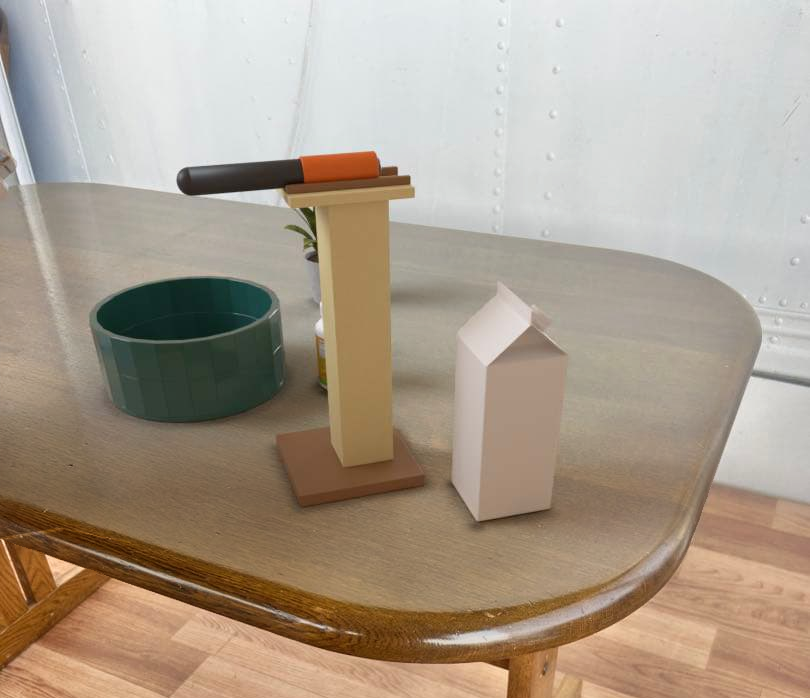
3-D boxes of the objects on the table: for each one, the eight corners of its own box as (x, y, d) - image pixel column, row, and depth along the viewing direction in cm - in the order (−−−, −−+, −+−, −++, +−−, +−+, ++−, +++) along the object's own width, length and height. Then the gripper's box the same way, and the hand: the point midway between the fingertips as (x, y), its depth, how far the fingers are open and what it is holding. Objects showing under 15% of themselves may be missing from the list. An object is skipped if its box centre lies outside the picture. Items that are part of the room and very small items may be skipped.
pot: (109, 434, 85) (89, 354, 80) (105, 358, 101) (88, 286, 96) (302, 406, 90) (295, 328, 85) (269, 337, 106) (261, 268, 101)
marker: (180, 205, 61) (176, 178, 59) (176, 187, 62) (172, 159, 60) (383, 188, 65) (386, 161, 63) (376, 170, 66) (378, 144, 64)
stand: (300, 507, 74) (269, 201, 58) (276, 445, 83) (244, 166, 67) (424, 485, 77) (427, 187, 61) (388, 427, 86) (382, 156, 70)
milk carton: (476, 523, 72) (489, 316, 60) (450, 482, 77) (457, 285, 66) (550, 510, 73) (575, 306, 62) (520, 471, 79) (537, 276, 68)
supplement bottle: (336, 369, 98) (331, 290, 92) (374, 379, 96) (371, 298, 90) (310, 386, 94) (303, 305, 88) (348, 397, 92) (344, 314, 86)
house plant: (358, 326, 109) (353, 198, 99) (265, 314, 112) (251, 190, 103) (393, 291, 120) (392, 172, 110) (308, 281, 123) (299, 166, 114)
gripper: (-203, 281, 54) (-44, 156, 53) (-139, 208, 70) (-15, 110, 69) (-119, 352, 58) (31, 237, 57) (-76, 268, 74) (42, 176, 73)
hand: (6, 167), depth 63 cm, fingers open, 8 cm apart
